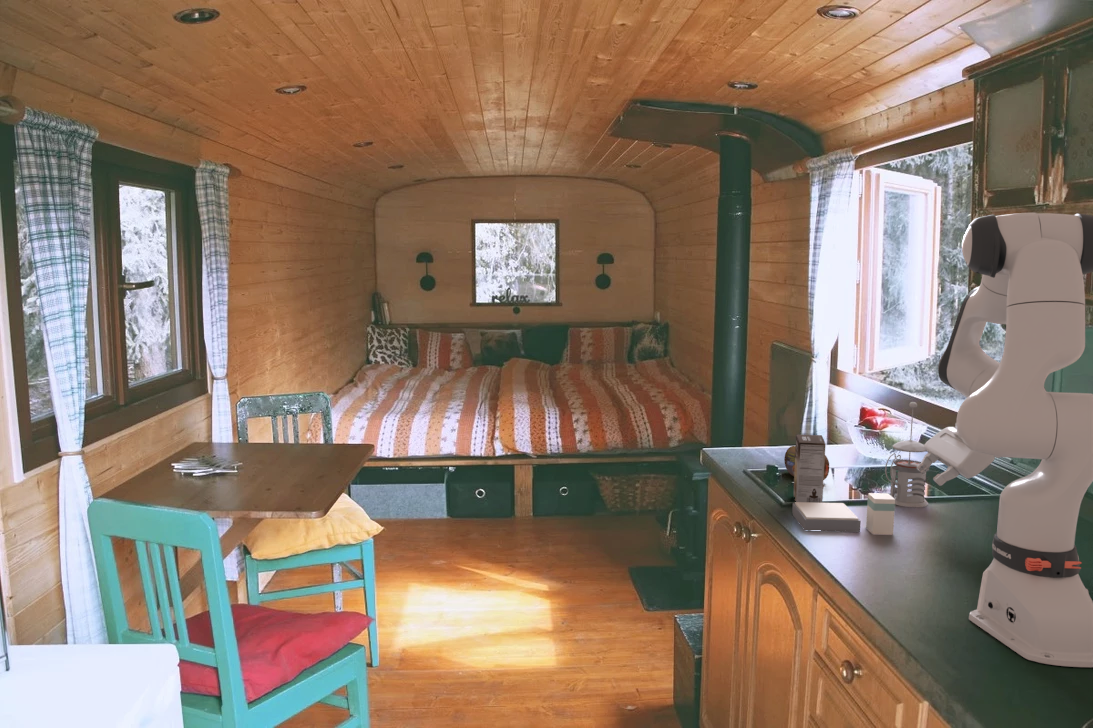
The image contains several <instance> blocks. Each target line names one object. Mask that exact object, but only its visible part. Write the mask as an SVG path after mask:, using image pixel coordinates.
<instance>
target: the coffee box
mask: <svg viewBox="0 0 1093 728" xmlns="http://www.w3.org/2000/svg"><path fill="white" fill-rule="evenodd" d="M795 446H796V448H795V472H794V476H793V477H794V478H793V498H794V497H795V499H794V502H795V501H796V502H815V503H823V498H824V497H823V496H824V481H825V480H824V464H825V455H826V442H825V440H824V437H823V435H820V434H818V435H817V434H795Z"/></svg>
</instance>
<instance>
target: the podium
mask: <svg viewBox="0 0 1093 728" xmlns="http://www.w3.org/2000/svg"><path fill="white" fill-rule="evenodd" d="M791 515H792V516H793V517H794V519H795V520H796V521H797V522H798V524H799V523H800V524H799V525H800V527H801V528H802V527H803V528H804V529H803V528H802V529H803V531H804V530H821V531H820V532H833V531H840V533H861V524H862V523H861V521H862V520H860V518H859V517H858V516H857V515H856V514H855V513H854V512H853V511H852V510H851V509H850V508H849V507H848V506H847V505H846V503H844V502H822V503H815V502H795V501H794V502H793V503H792V511H791ZM842 531H843V532H842Z"/></svg>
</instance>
